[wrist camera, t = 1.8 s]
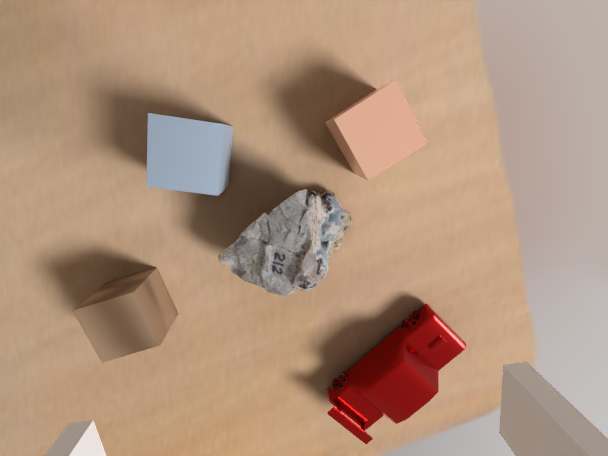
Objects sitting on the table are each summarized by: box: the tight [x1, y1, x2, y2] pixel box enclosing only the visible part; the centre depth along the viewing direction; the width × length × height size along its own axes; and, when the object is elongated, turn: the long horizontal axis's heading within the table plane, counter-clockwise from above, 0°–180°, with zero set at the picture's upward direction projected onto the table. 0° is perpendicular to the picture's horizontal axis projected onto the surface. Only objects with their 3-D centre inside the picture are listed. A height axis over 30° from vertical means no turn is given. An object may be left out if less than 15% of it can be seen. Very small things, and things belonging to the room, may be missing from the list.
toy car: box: [327, 304, 466, 444], centre depth 32 cm, size 14×6×5 cm, turn 134°
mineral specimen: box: [218, 189, 352, 296], centre depth 28 cm, size 10×8×10 cm
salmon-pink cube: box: [325, 79, 428, 180], centre depth 26 cm, size 5×5×5 cm
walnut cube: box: [73, 268, 178, 363], centre depth 28 cm, size 5×5×5 cm
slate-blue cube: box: [147, 113, 233, 196], centre depth 25 cm, size 5×5×5 cm
